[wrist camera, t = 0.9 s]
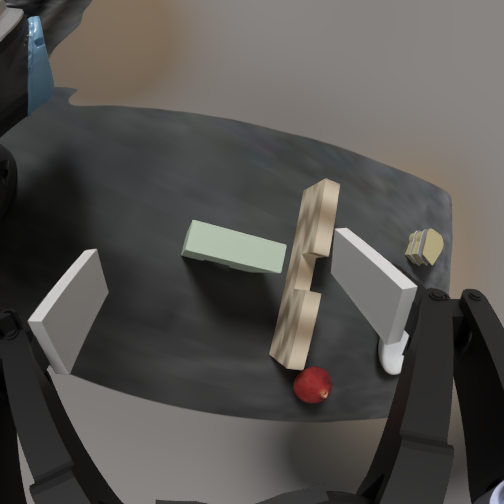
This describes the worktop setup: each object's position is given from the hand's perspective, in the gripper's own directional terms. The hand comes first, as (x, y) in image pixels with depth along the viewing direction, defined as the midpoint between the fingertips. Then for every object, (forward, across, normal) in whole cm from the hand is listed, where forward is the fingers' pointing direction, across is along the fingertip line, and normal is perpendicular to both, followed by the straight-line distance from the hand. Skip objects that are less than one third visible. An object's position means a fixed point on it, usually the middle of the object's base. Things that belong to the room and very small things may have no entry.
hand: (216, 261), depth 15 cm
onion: (+16, +11, -30) cm, 35 cm away
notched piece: (+23, 0, -10) cm, 25 cm away
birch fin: (+23, +11, -14) cm, 29 cm away
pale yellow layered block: (+29, +39, -15) cm, 51 cm away
